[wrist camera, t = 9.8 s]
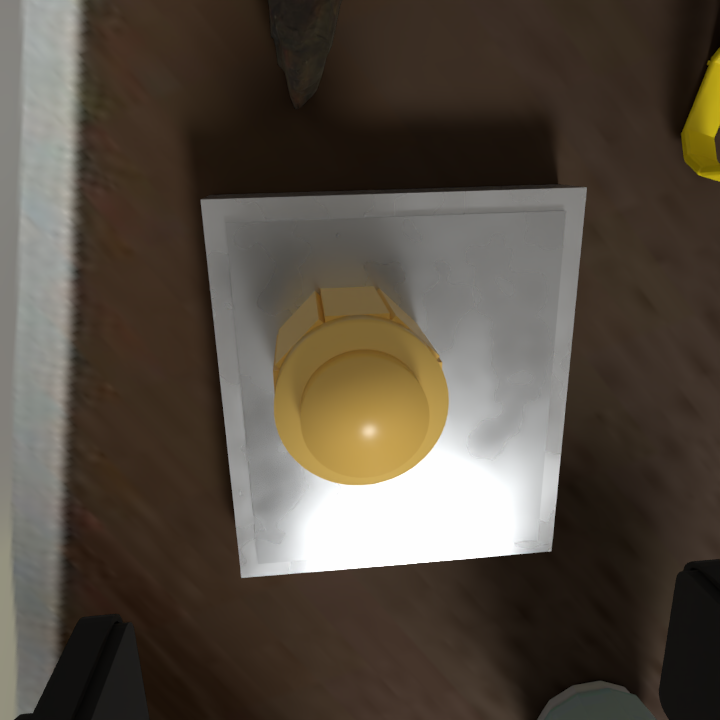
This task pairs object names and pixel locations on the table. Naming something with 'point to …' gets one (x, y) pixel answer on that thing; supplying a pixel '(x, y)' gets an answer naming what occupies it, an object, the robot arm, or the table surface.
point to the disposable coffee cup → (595, 704)
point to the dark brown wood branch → (303, 42)
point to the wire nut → (357, 387)
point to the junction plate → (446, 334)
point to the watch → (704, 124)
